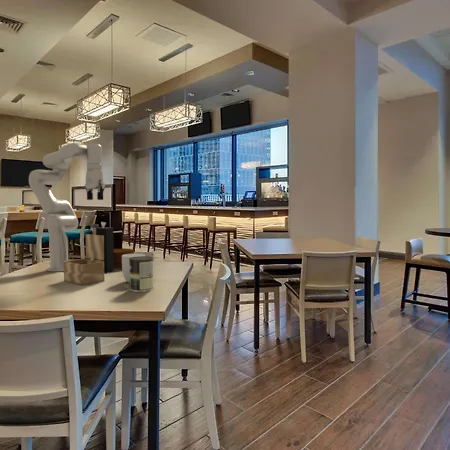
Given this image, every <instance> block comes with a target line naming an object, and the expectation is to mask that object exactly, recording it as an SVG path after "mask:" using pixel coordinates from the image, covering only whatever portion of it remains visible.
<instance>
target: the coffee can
mask: <svg viewBox="0 0 450 450" xmlns="http://www.w3.org/2000/svg"><path fill="white" fill-rule="evenodd" d="M153 260H154V257H153V256H146V255H145V256H138V257H131V258H129V265H130V283H129V291H130V292H134V293H144V292H145V293H146V292H149V291H153V290H154V284H153V283H154V282H153V281H154V278H153V277H154V272H153V269H154V267H153V265H154V264H153V262H154V261H153Z"/></svg>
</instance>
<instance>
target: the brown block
mask: <svg viewBox="0 0 450 450" xmlns="http://www.w3.org/2000/svg"><path fill="white" fill-rule="evenodd" d="M125 254H135V250H134V249H132V248H114V269H119V267H122V255H125Z"/></svg>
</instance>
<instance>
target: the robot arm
mask: <svg viewBox="0 0 450 450" xmlns="http://www.w3.org/2000/svg"><path fill="white" fill-rule="evenodd" d="M102 149H103V148H102V145H101V144H99V143H88V144H82V143H77V142H70V143H67V144H64V145H62V146H61V147H60V149H59V150H57V151H54V152H50V153H47V154H45V155H44V156H43V158H42V163H43V166H45V167H46V168H48V170H47V169H35V170H32V171H30V173H29V175H28V184H29V187H30V189H31V191H32V192H33V193H34V195H35V197H36V199H37V200H38V203H39V205H40V207H41V209H42V210H43V213H44V214H45V215H46V216H49V217H48V218H47V220H46V226H47V231H48V237H49V239H48V240H49V263H48V264H49V267H48V268H46V271H48V272H64V261H69V242H68V241H69V240H68V236H67V234H66V233H65V232H69V231H70V232H71V231H74V230H77V229H78V226H79V220H78V217H77V215H76V213H75V211H74V209H73V207H72V205H71V203H70V202H69V201H68V200H66V199H64V198H63V199H61V198H60V199H58V198H56V197H55V195H54V194H53V192H52V190H51V189H50V188H49V187H47V186H46V185H49V186H58V185H59V184H61V182H62V181H63V179H64V177H65V175H66V174H67V172H68V170H69V168H70V165H71V163H72V162H73V158H76V159H77V158H78V159H84V160H86V172H85V173H86V174H85V183H84V186H85V191H86V192H85V193H86V200H87V201H93V200H94V192H93V190H97V192H96V193H97V194H96V196H97V200H98V201H103V200H104V192H105V188H106V183H105V182H104V176H103V151H102ZM50 169H52V170H50Z"/></svg>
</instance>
